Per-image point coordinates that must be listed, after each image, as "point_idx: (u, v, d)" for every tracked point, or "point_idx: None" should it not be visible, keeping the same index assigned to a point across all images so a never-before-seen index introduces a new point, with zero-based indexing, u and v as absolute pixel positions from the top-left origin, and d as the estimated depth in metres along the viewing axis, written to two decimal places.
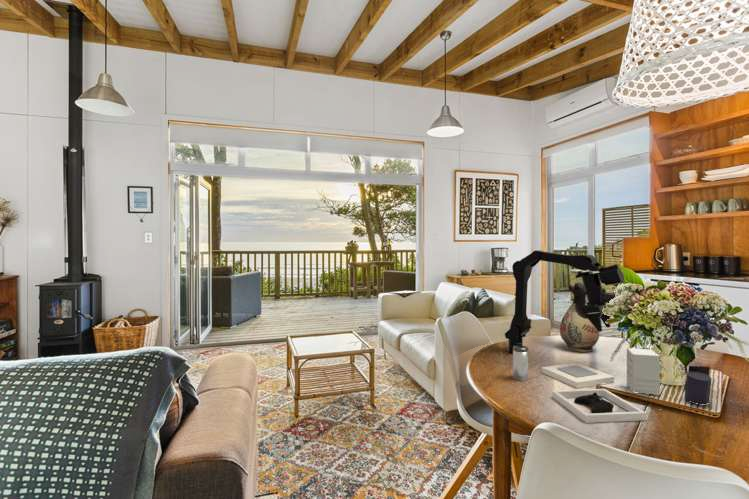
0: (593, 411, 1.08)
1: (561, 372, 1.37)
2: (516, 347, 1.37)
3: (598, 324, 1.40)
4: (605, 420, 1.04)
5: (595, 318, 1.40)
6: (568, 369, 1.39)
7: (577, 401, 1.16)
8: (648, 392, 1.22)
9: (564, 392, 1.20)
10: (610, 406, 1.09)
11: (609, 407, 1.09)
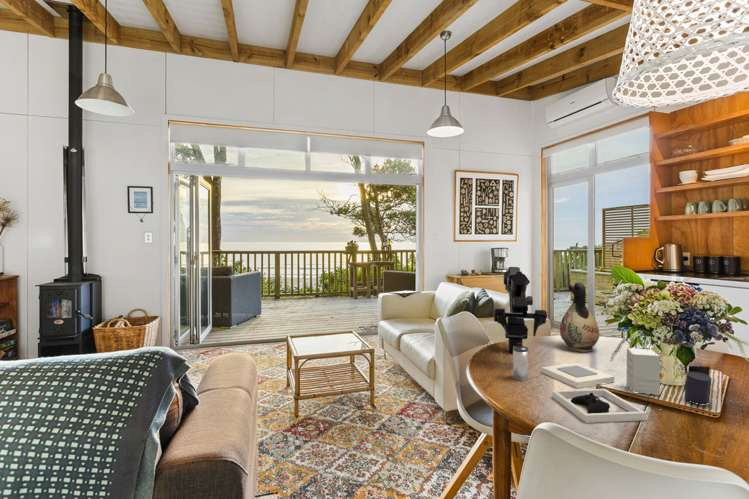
0: (589, 411, 1.08)
1: (561, 372, 1.37)
2: (516, 347, 1.37)
3: (505, 328, 1.47)
4: (605, 420, 1.04)
5: None
6: (568, 369, 1.39)
7: (573, 401, 1.16)
8: (648, 392, 1.22)
9: (564, 392, 1.20)
10: (606, 406, 1.09)
11: (605, 407, 1.09)
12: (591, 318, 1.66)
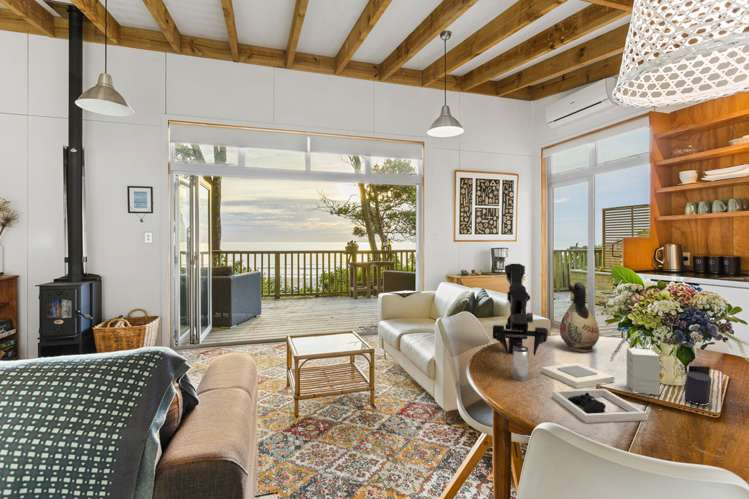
0: (585, 411, 1.08)
1: (561, 372, 1.37)
2: (516, 347, 1.37)
3: (504, 346, 1.40)
4: (605, 420, 1.04)
5: None
6: (568, 369, 1.39)
7: None
8: (648, 392, 1.22)
9: (564, 392, 1.20)
10: (602, 406, 1.09)
11: (601, 407, 1.09)
12: (591, 318, 1.66)
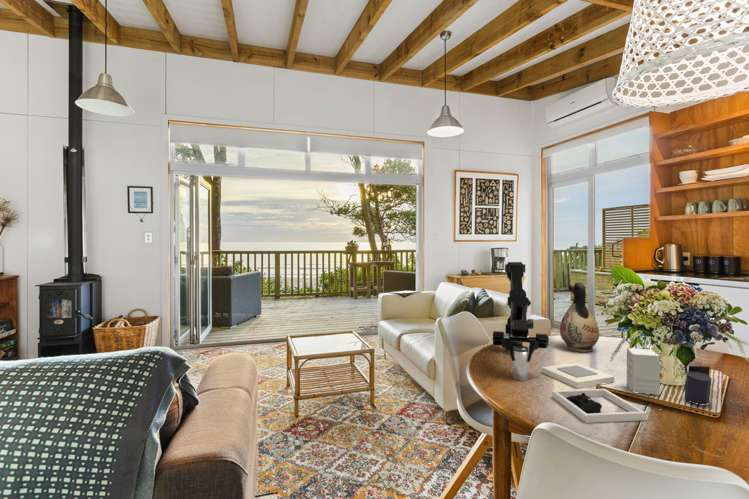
0: None
1: (561, 372, 1.37)
2: (516, 347, 1.37)
3: (510, 353, 1.38)
4: (605, 420, 1.04)
5: None
6: (568, 369, 1.39)
7: None
8: (648, 392, 1.22)
9: (564, 392, 1.20)
10: (598, 406, 1.09)
11: (597, 407, 1.09)
12: (591, 318, 1.66)
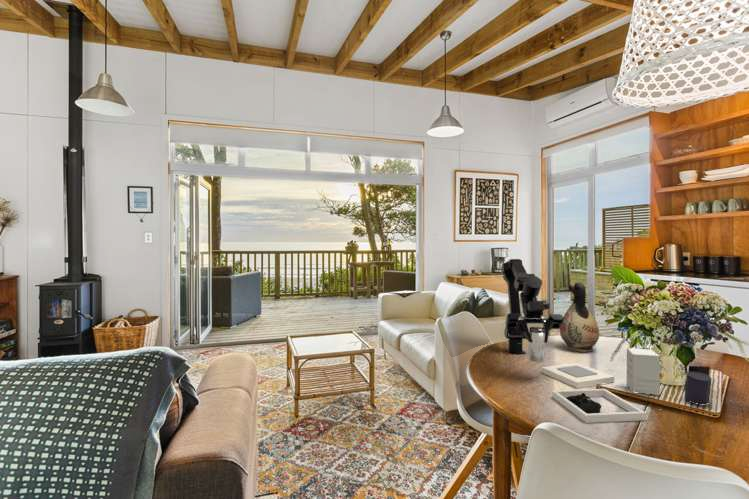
0: None
1: (561, 372, 1.37)
2: (533, 328, 1.35)
3: (526, 334, 1.36)
4: (605, 420, 1.04)
5: (524, 329, 1.38)
6: (568, 369, 1.39)
7: None
8: (648, 392, 1.22)
9: (564, 392, 1.20)
10: (597, 406, 1.09)
11: (596, 407, 1.09)
12: (591, 318, 1.66)
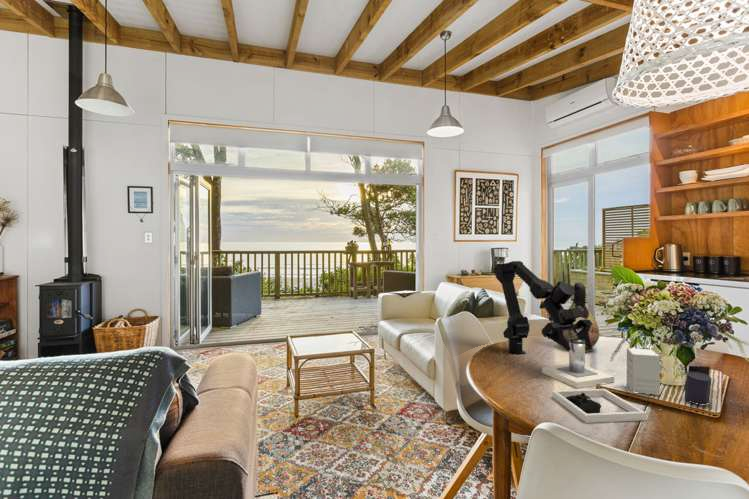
0: None
1: (561, 372, 1.37)
2: (574, 340, 1.36)
3: (564, 343, 1.36)
4: (605, 420, 1.04)
5: (559, 338, 1.37)
6: (568, 369, 1.39)
7: None
8: (648, 392, 1.22)
9: (564, 392, 1.20)
10: (597, 406, 1.09)
11: (596, 407, 1.09)
12: (591, 318, 1.66)
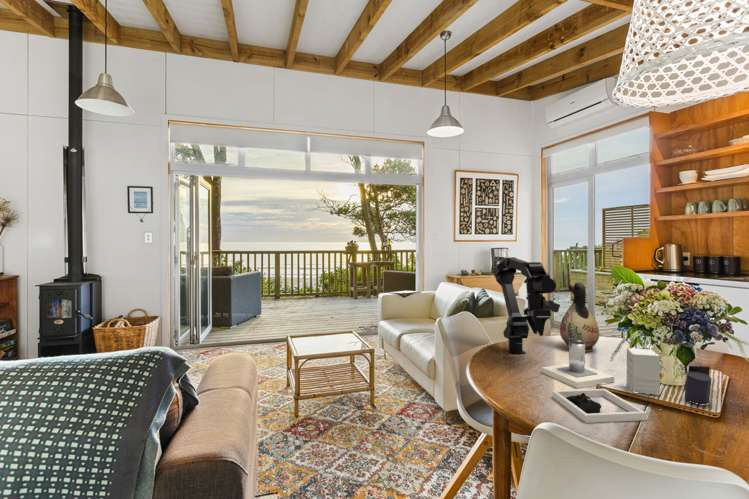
0: None
1: (561, 372, 1.37)
2: (574, 340, 1.36)
3: (541, 328, 1.45)
4: (605, 420, 1.04)
5: (540, 322, 1.45)
6: (568, 369, 1.39)
7: None
8: (648, 392, 1.22)
9: (564, 392, 1.20)
10: (597, 406, 1.09)
11: (596, 407, 1.09)
12: (591, 318, 1.66)
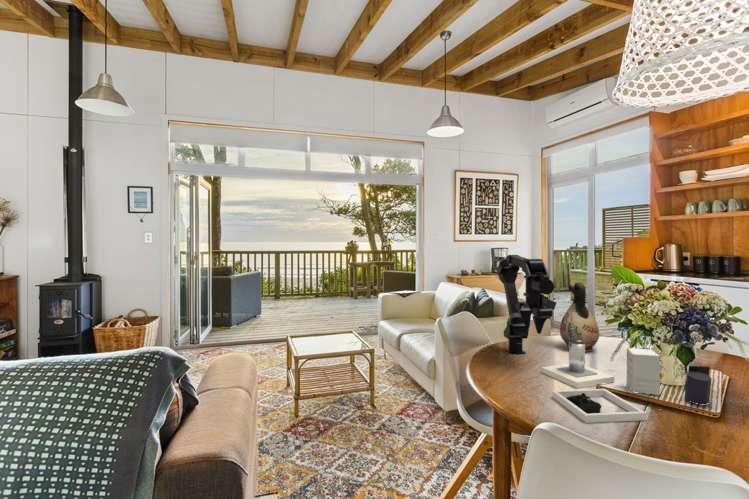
0: None
1: (561, 372, 1.37)
2: (574, 340, 1.36)
3: (540, 327, 1.47)
4: (605, 420, 1.04)
5: (540, 321, 1.47)
6: (568, 369, 1.39)
7: None
8: (648, 392, 1.22)
9: (564, 392, 1.20)
10: (597, 406, 1.09)
11: (596, 407, 1.09)
12: (591, 318, 1.66)
